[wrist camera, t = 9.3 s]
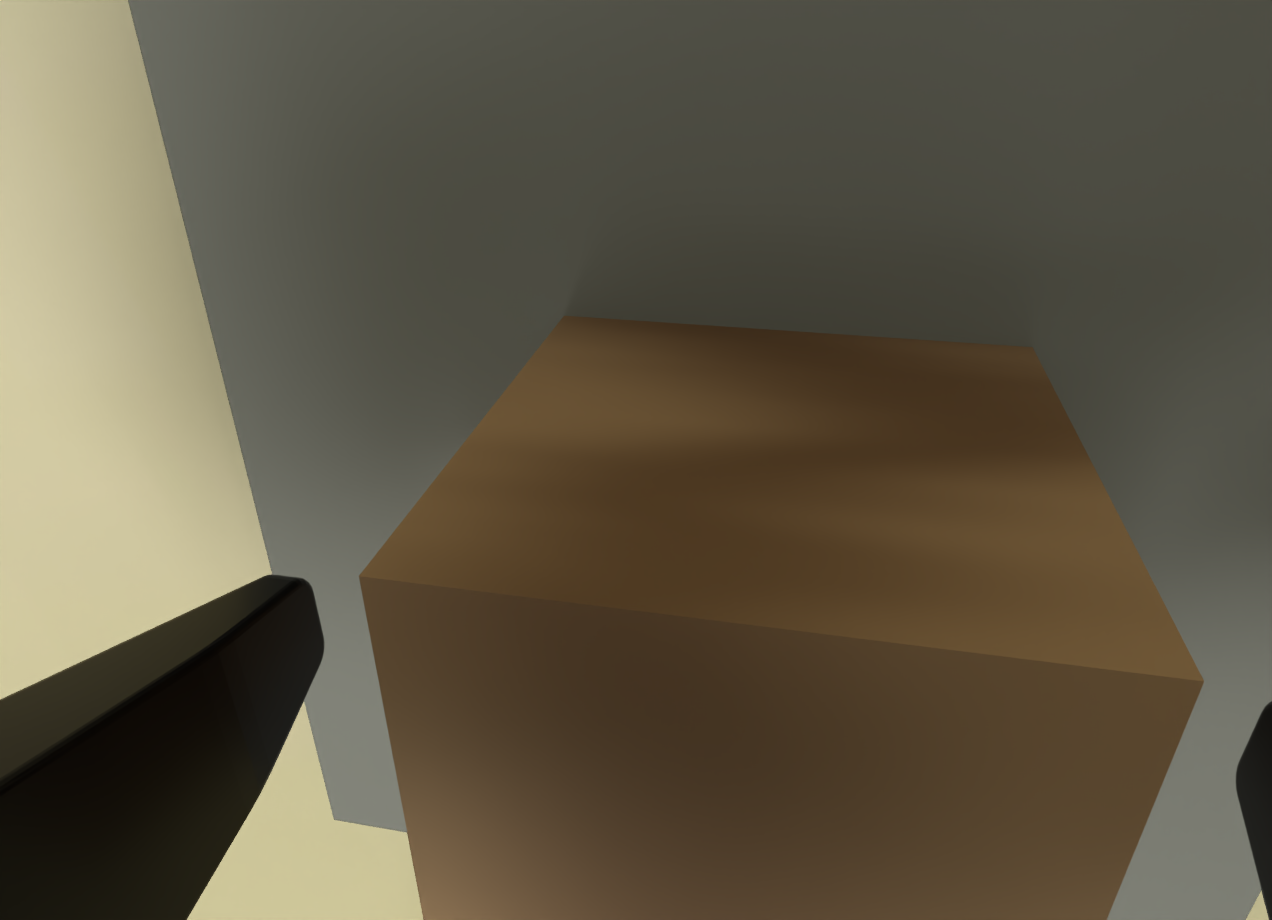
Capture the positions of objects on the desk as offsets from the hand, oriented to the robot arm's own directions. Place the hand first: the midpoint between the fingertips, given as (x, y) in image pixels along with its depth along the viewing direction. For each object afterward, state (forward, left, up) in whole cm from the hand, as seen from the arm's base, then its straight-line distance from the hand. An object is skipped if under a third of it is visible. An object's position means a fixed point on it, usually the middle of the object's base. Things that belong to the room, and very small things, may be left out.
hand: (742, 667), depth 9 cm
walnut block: (0, 0, -3) cm, 3 cm away
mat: (0, 0, -3) cm, 3 cm away
